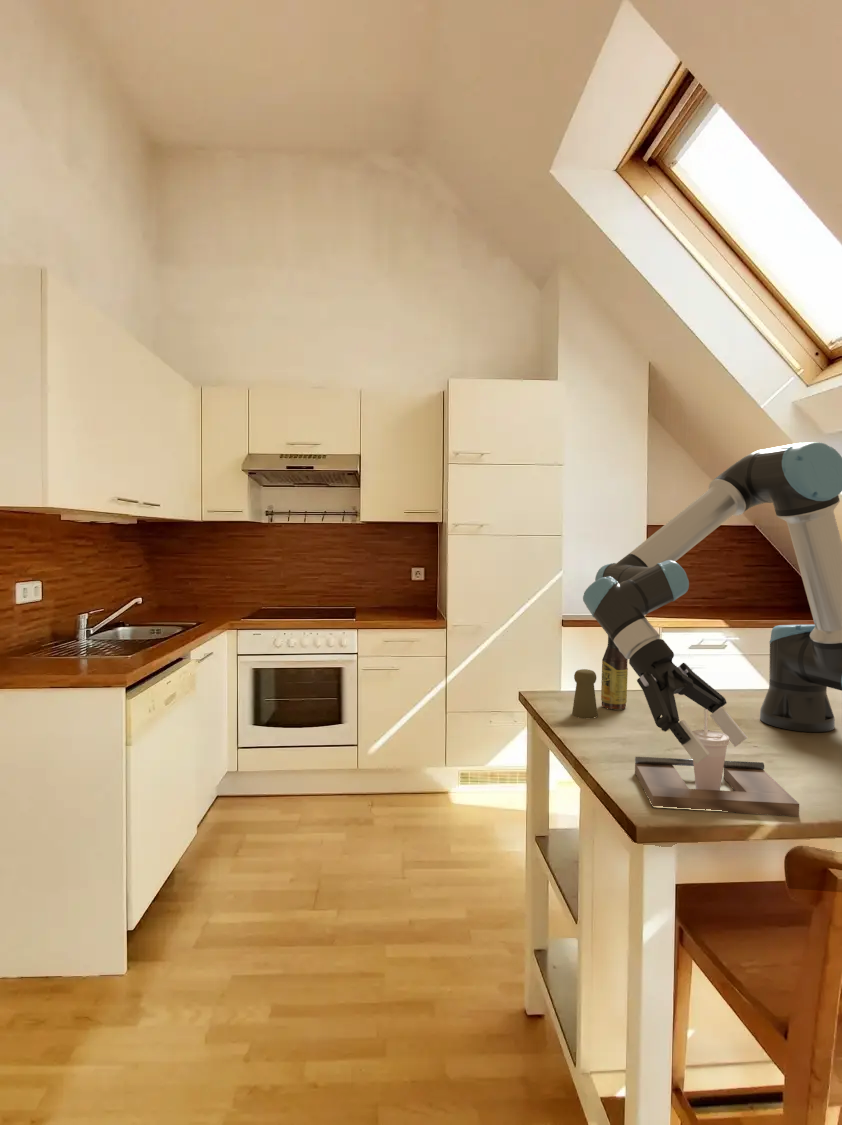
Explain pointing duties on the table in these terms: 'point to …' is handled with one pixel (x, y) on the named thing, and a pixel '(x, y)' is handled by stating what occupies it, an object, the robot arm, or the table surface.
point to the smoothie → (710, 757)
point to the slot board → (718, 791)
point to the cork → (585, 694)
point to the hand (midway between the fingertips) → (723, 750)
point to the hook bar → (690, 763)
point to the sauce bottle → (614, 678)
